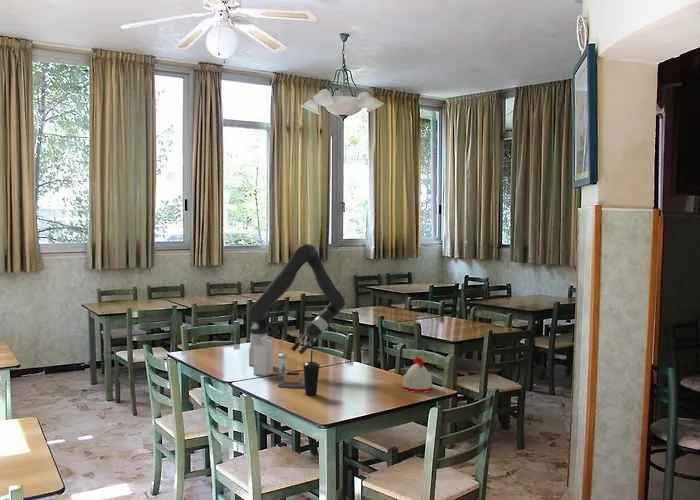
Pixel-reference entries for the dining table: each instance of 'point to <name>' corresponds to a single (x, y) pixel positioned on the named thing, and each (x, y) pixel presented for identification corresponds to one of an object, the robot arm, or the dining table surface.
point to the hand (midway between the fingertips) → (296, 351)
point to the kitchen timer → (417, 378)
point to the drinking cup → (311, 377)
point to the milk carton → (263, 357)
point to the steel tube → (282, 365)
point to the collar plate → (292, 380)
